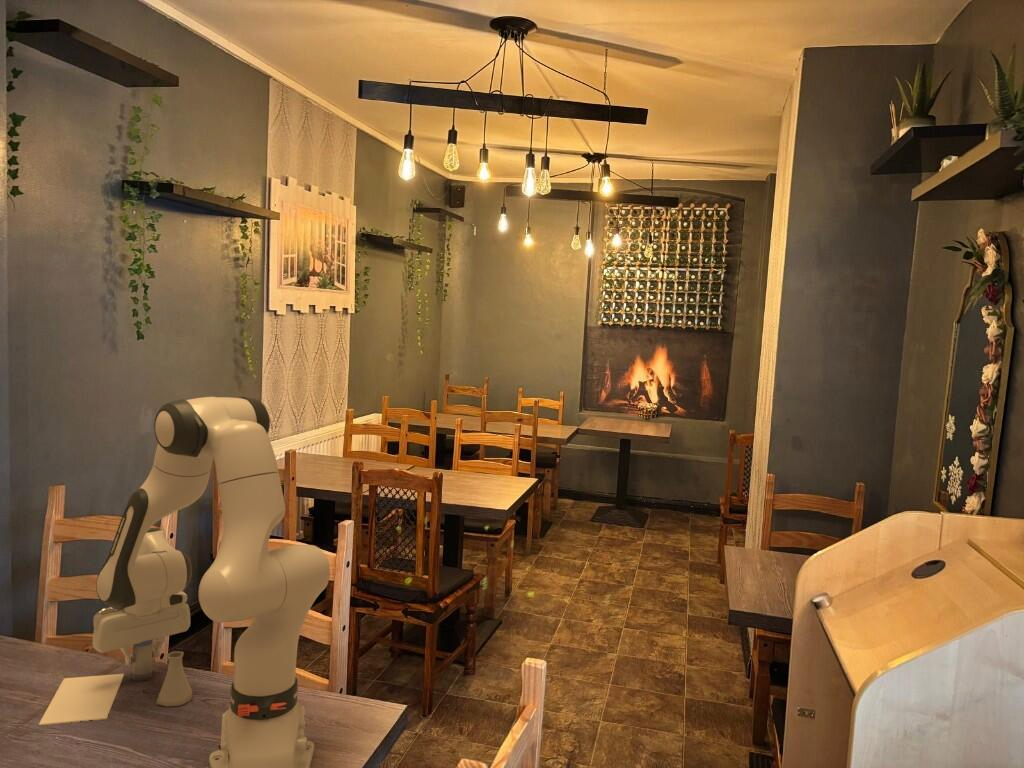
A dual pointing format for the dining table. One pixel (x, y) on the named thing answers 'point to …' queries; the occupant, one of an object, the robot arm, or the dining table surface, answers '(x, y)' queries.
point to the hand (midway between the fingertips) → (142, 659)
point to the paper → (83, 699)
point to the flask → (175, 683)
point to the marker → (142, 661)
